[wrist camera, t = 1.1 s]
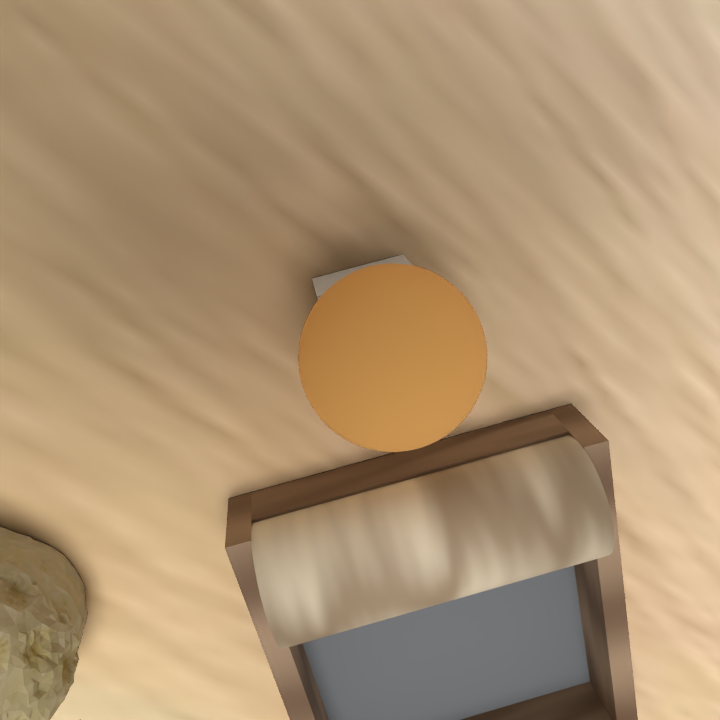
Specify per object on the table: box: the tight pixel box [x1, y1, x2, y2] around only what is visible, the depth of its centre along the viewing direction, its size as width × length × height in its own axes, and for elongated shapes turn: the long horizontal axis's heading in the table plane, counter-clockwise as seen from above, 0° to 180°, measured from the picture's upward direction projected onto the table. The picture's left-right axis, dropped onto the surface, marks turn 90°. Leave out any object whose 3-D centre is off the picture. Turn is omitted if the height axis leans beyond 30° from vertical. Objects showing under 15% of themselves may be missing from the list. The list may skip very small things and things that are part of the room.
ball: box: [298, 263, 487, 452], centre depth 22 cm, size 6×6×6 cm
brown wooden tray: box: [225, 404, 638, 720], centre depth 30 cm, size 17×15×6 cm
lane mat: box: [302, 415, 590, 720], centre depth 32 cm, size 17×15×1 cm
